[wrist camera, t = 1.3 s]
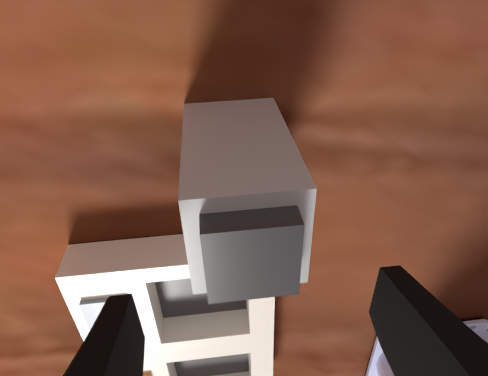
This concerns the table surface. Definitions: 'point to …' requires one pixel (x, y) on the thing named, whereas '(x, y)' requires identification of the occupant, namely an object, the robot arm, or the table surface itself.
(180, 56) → the table surface
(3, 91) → the table surface
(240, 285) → the plug
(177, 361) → the socket strip
